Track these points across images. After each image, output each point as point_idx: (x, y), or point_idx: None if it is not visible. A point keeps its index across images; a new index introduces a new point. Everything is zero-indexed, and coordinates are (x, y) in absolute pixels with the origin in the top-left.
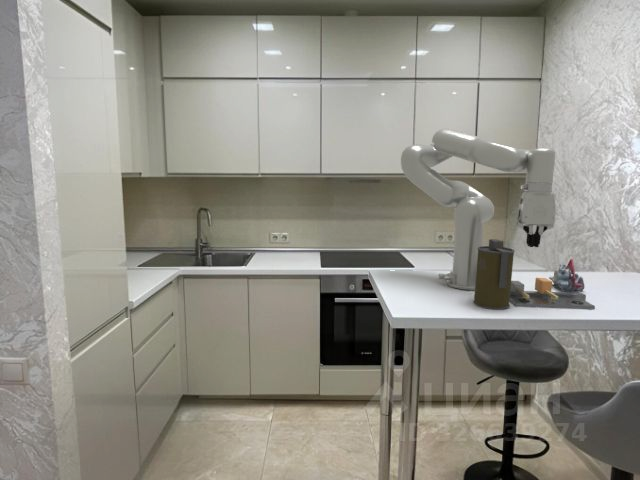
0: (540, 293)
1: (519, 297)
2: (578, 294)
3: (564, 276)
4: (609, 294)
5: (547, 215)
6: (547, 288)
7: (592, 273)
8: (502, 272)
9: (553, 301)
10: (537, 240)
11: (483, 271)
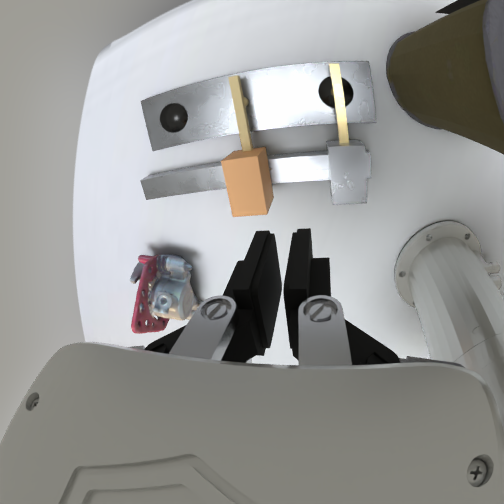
0: None
1: None
2: (156, 178)
3: (167, 287)
4: (103, 247)
5: (60, 456)
6: (242, 153)
7: None
8: (476, 1)
9: None
10: (259, 256)
11: None
